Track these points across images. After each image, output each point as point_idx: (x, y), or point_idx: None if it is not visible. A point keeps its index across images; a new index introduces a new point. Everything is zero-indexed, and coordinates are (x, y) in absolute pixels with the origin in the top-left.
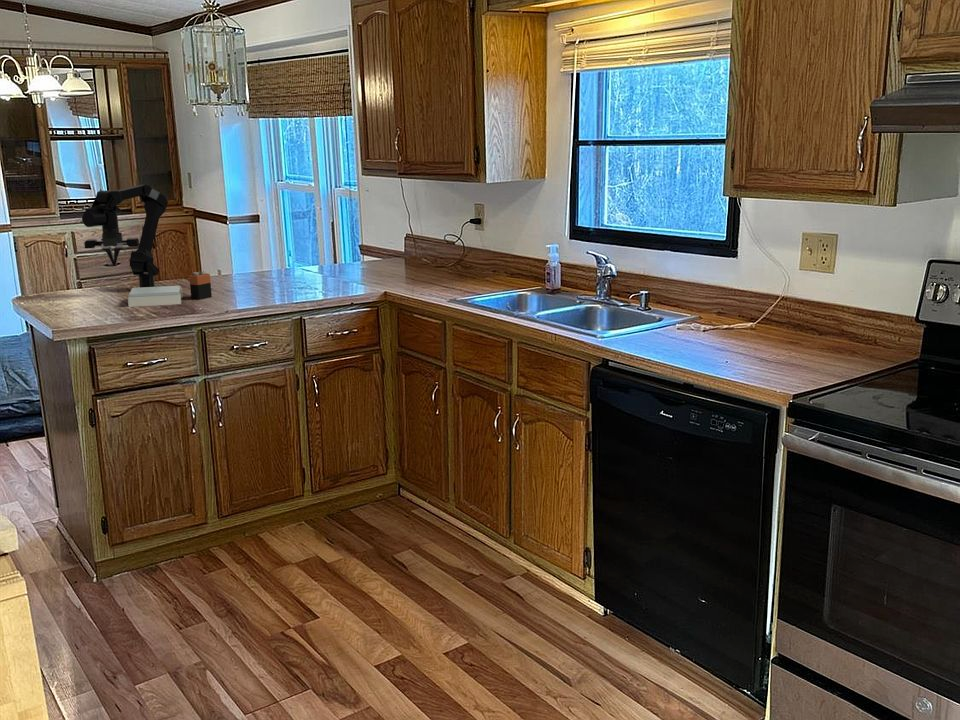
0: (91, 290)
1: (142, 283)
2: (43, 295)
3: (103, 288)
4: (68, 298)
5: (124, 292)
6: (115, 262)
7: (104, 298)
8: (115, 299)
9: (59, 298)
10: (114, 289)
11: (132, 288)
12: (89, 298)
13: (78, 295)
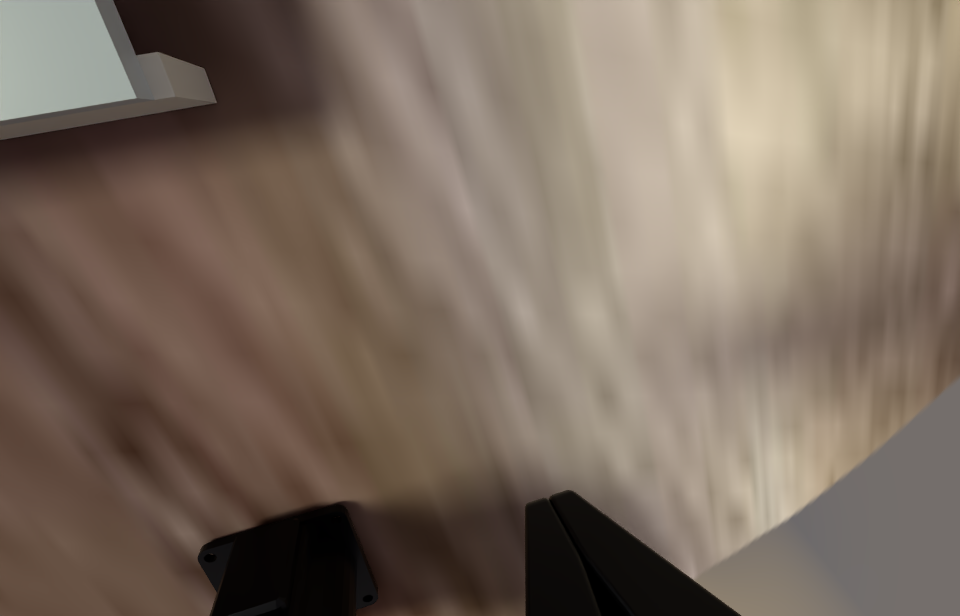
0: (694, 526)
1: (288, 570)
2: (941, 362)
3: None
4: (812, 243)
5: (456, 480)
6: (541, 559)
7: (545, 220)
8: (424, 153)
9: (866, 248)
10: None
11: (100, 25)
12: (667, 231)
13: (754, 361)
